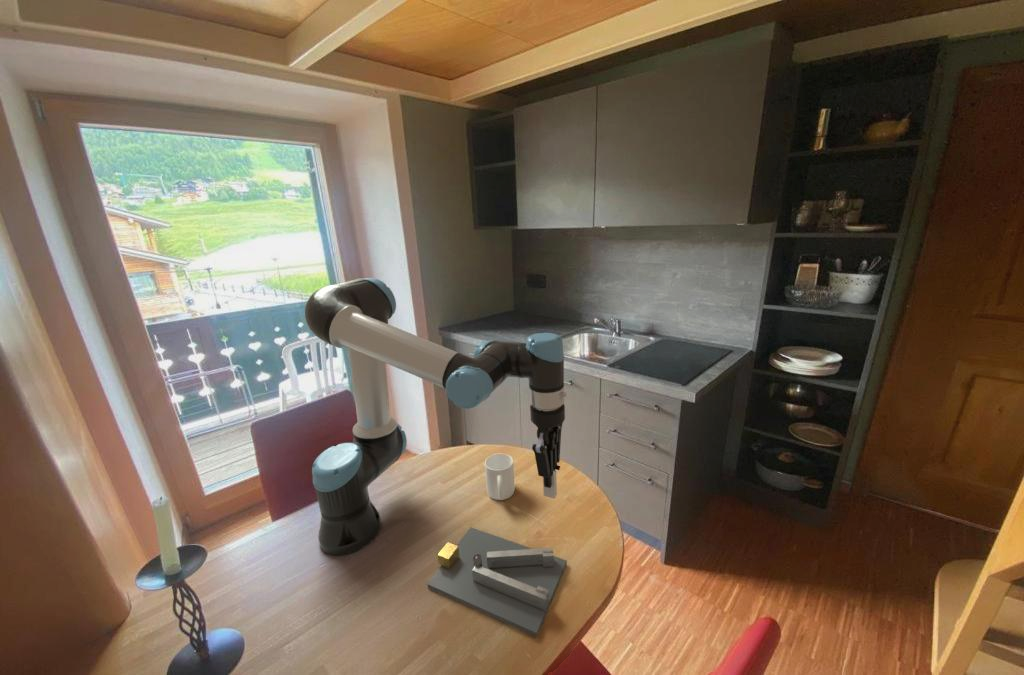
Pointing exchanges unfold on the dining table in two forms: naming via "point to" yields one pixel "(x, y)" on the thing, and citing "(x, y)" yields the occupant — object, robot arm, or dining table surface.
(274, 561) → the dining table surface
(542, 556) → the tongs jaw
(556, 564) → the board
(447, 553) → the tab
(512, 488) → the mug
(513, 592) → the tongs fixed
